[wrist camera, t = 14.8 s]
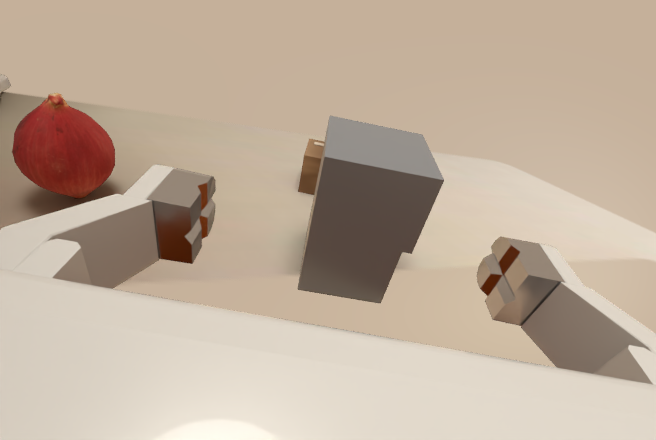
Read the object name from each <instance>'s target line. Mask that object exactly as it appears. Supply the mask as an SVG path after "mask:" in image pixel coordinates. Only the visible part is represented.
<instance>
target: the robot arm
mask: <svg viewBox="0 0 656 440" xmlns="http://www.w3.org/2000/svg"><path fill="white" fill-rule="evenodd" d="M10 86H11V84H10V82H9V80H8V78H7V76H5V75H2V74H0V94H1V92H2V91H4V90H6V89H7V88H9V87H10ZM214 192H215V179H214V177H213V176H209V175H204V174H200V173H195V172H191V171H187V170H182V169H178V168H174V167H169V166H164V165H159V164H157V165H153V166H152V167H151V168H150V169H149V170H148V171H147V172H146V173H145V174H144V175H143V176H142V177H141V178H140V179H138V180H137V181H136V182H135V183H134V184H133V185H132V186H131V187H130V188H129V189H128V190H127V191H126V192H125V193H124V194H123V195H121V194H114V195H110V196H107V197H104V198H100V199H97V200H93V201H90V202H87V203H83V204H80V205H76V206H73V207H70V208H66V209H63V210H60V211H56V212H53V213H49V214H46V215H43V216H39V217H36V218H32V219H29V220H26V221H22V222H19V223H15V224H12V225H9V226H5V227H3V228H2V229H0V440H656V334H655V333H654V332H652V331H651V330H650V329H648V328H647V327H645V326H644V325H642V324H641V323H640V322H638V321H637V320H635V319H634V318H632V317H631V316H630V315H628V314H627V313H625V312H624V311H622V310H621V309H620V308H618V307H617V306H615V305H614V304H612V303H611V302H610V301H608V300H607V299H605V298H604V297H602V296H601V295H600V294H598V293H597V292H595V291H594V290H592V289H591V288H588V287H585V286H584V285H583V284H582V282H581V281H580V280H579V278H578V277H577V275H576V274H575V273H574V271H573V270H572V269H571V267H570V266H569V265H568V263H567V262H566V261H565V259H564V258H563V256H562V255H561V254H560V252H559V251H558V250H557V248H555V247H553V246H551V245H545V244H540V243H533V242H527V241H522V240H516V239H511V238H505V237H499V238H498V239H497V240H495V242H494V243H493V245H492V246H491V249H492V254H490V255H489V256H487V257H485V258H483V260H482V262H481V263H480V265H479V267H478V272H477V281H478V284H479V287H480V289H481V290H482V291H483V292H484V293H485V294H486V295H487V298H486V300H485V302H486V305H487V307H488V309H489V312H490V314H491V317H492V319H493V320H496V321H501V322H505V323H510V324H515V325H519V326H521V328H522V329H523V330H524V331H525V332H526V334H527V335H528V336H529V337H530V338H531V339H532V340H533V341H534V343H535V344H536V345H537V346H538V347H539V348H540V349H541V350H542V351H543V353H544V354H545V355H546V356H547V357H548V358H549V359H550V360H551V361H552V362H553V364H554V365H555V366H556V367H557V368H556V367H550V366H545V365H538V364H533V363H528V362H522V361H517V360H511V359H505V358H500V357H494V356H489V355H483V354H478V353H472V352H467V351H461V350H455V349H449V348H444V347H439V346H433V345H427V344H422V343H416V342H410V341H404V340H399V339H393V338H387V337H382V336H376V335H371V334H365V333H359V332H354V331H348V330H342V329H337V328H331V327H325V326H319V325H314V324H308V323H302V322H297V321H291V320H286V319H280V318H274V317H269V316H263V315H257V314H251V313H246V312H241V311H235V310H229V309H224V308H217V307H212V306H207V305H201V304H195V303H189V302H184V301H178V300H173V299H167V298H162V297H155V296H150V295H144V294H139V293H133V292H127V291H122V290H116V289H113V288H114V287H116V286H118V285H119V284H121V283H123V282H124V281H126V280H127V279H129V278H131V277H132V276H134V275H136V274H137V273H139V272H140V271H142V270H144V269H145V268H147V267H149V266H150V265H152V264H154V263H155V262H157V261H158V260H159V259H165V260H171V261H178V262H184V263H190V264H193V262H194V260H195V258H196V256H197V255H198V253H199V251H200V249H201V247H202V239H203V238H205V237H207V236H208V234H209V232H210V230H211V228H212V224H213V221H214V215H215V203H214V202H213V200H212V199H211V197H212V196H213V194H214Z"/></svg>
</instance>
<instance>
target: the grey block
mask: <svg viewBox="0 0 656 440" xmlns="http://www.w3.org/2000/svg"><path fill="white" fill-rule="evenodd" d="M443 182H444V179H443V177H442V175H441V173H440V171H439V168H438V166H437V164H436V162H435V160H434V158H433V156H432V154H431V152H430V150H429V148H428V145H427V143H426V141H425V139H424V137H423V135H421V134H417V133H411V132H407V131H402V130H397V129H392V128H387V127H383V126H377V125H373V124H368V123H363V122H358V121H353V120H348V119H343V118H338V117H333V116H330V117H329V122H328V128H327V132H326V137H325V143H324V148H323V153H322V158H321V163H320V168H319V173H318V178H317V183H316V188H315V194H314V199H313V204H312V209H311V214H310V219H309V224H308V229H307V235H306V241H305V247H304V253H303V259H302V266H301V272H300V278H299V284H298V290H304V291H309V292H315V293H321V294H327V295H333V296H339V297H345V298H351V299H357V300H363V301H369V302H375V303H381V301H382V299H383V296H384V294H385V291H386V289H387V287H388V284H389V282H390V280H391V277H392V275H393V272H394V270H395V268H396V265H397V263H398V261H399V258H400V256H401V253H402V252H406V253H411V254H412V252H413V249H414V247H415V245H416V243H417V240H418V238H419V236H420V234H421V231H422V229H423V227H424V224H425V222H426V220H427V218H428V215H429V213H430V211H431V209H432V206H433V204H434V202H435V200H436V197H437V195H438V193H439V191H440V188H441V186H442V184H443Z"/></svg>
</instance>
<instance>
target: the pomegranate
mask: <svg viewBox="0 0 656 440" xmlns="http://www.w3.org/2000/svg"><path fill="white" fill-rule="evenodd" d="M12 152H13V156H14V160H15V163H16V165H17V166H18V168H19V169H20V170H21V172H22V173H23V174H24V175H25V176H26V177H28V178H29V179H30V180H31V181H33V182H34V183H35V184H37V185H38V186H40V187H42V188H44V189H47V190H50V191H52V192H56V193H59V194H63V195H68V196H71V197H74V198H84V197H86V196H87V195H88V194H90V193H91V192H92V191H93V190H95V189H96V188H98V187H99V186H101V185H102V184H103V183H104V182H105V181H106V180H107V178H108V177H109V176H110V175H111V173H112V170H113V168H114V166H115V149H114V146H113V143H112V140H111V138H110V137H109V135H108V134H107V132H106V131H105V130H104V129H103V128H102V127H101V126H100V125H99V124H98V123H97V122H95V121H94V120H93V119H92V118H91V117H90V116H88V115H87V114H85V113H83V112H81V111H79V110H76V109H74V108H72V107H70V106H68V105H67V103H66V102H65V100H64V99H63V98H62V96H61V94H58V93H54V94H49V96H48V98H47V99H46V100H45V101H44V102H43V103H42V104H41V105H40V106H38V107H37V108H35V109H34V110H33V111H32V112H30V113H29V114H28V115H27V116H26V117H25V118H24V119H23V120H22V121H21V122H20V123H19V125H18V126H17V128H16V131H15V133H14V144H13V151H12Z"/></svg>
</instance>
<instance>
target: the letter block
mask: <svg viewBox="0 0 656 440" xmlns="http://www.w3.org/2000/svg"><path fill="white" fill-rule="evenodd" d="M324 143H325V142H323V141H318V140H313V139H309V142H308V145H307V148H306V151H305V155H304V160H303V166H302V172H301V178H300V184H299V190H298V192H303V193H308V194H313V195H314V194H315V188H316V183H317V178H318V173H319V168H320V163H321V158H322V153H323V148H324Z"/></svg>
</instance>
